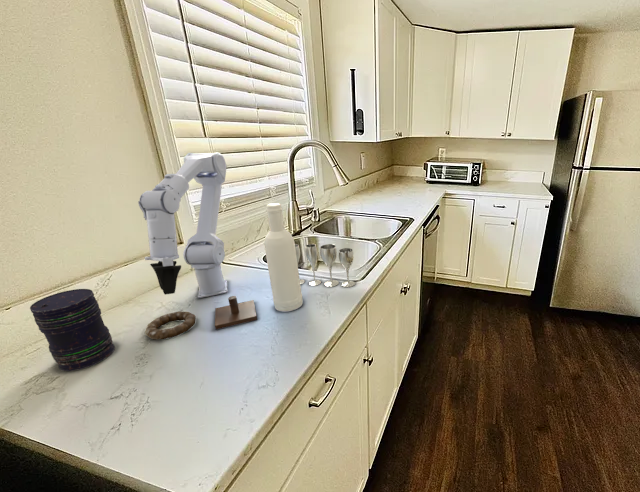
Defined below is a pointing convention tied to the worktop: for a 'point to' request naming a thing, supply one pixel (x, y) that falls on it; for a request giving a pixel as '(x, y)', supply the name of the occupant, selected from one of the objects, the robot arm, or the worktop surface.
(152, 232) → the robot arm
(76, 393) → the worktop surface
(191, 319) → the ring
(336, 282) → the goblet set
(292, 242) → the bottle
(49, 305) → the storage jar
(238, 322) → the brown peg plate
